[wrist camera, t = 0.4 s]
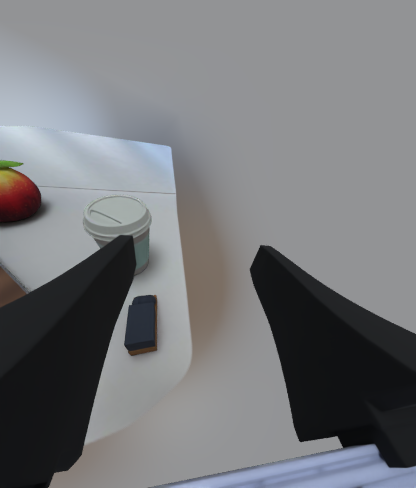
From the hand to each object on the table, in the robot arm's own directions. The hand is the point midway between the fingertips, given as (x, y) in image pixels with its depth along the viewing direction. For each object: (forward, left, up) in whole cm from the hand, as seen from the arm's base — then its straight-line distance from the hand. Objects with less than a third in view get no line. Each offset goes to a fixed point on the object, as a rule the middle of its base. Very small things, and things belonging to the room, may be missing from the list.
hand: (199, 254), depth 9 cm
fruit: (+24, +36, -19) cm, 47 cm away
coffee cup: (+13, +10, -19) cm, 25 cm away
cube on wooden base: (+2, +5, -19) cm, 20 cm away
